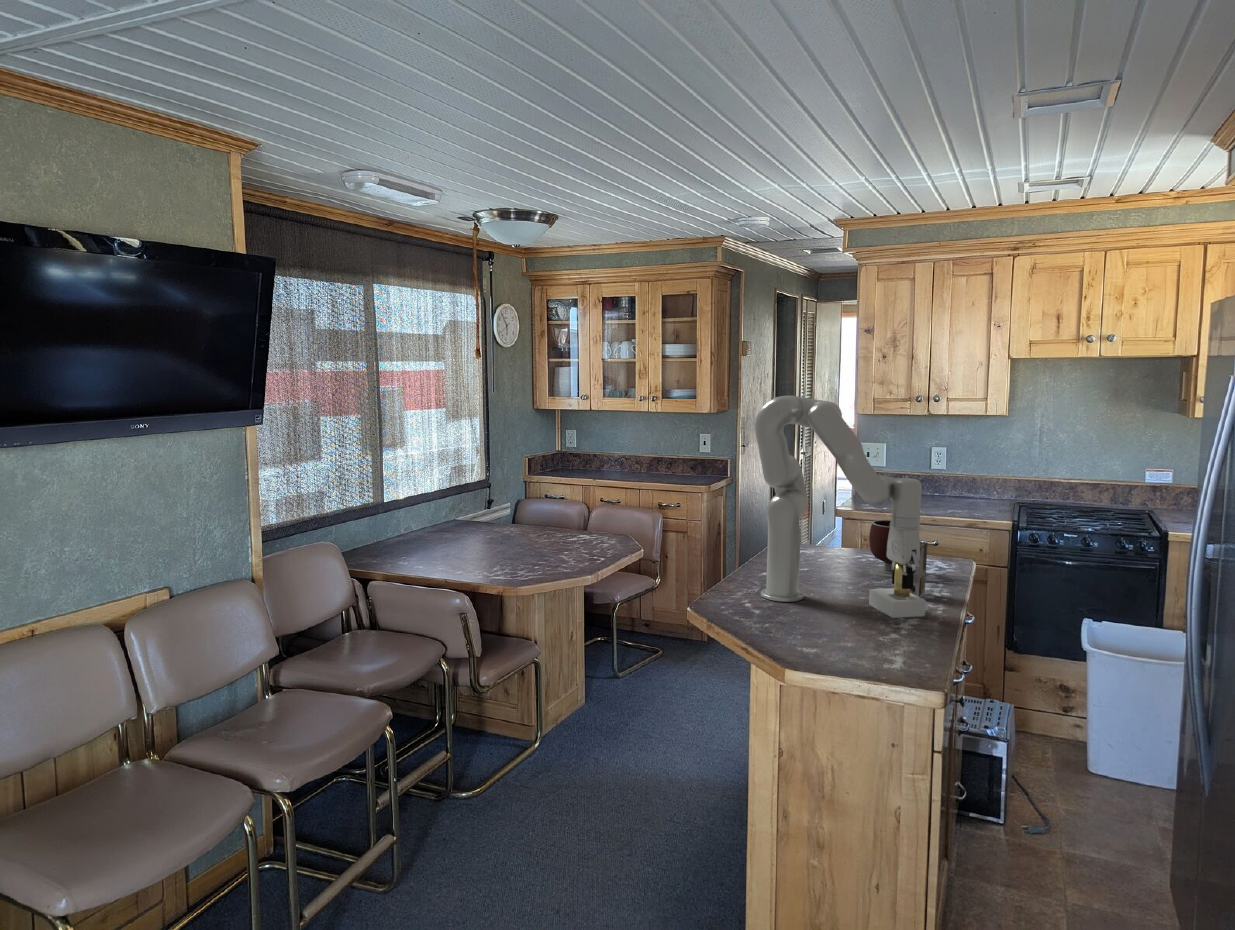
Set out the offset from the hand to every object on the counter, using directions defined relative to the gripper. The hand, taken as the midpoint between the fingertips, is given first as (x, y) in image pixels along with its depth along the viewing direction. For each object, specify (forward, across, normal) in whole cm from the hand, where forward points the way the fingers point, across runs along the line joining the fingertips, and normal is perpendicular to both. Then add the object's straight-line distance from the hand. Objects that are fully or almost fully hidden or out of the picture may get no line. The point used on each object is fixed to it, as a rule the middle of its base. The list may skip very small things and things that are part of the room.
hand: (902, 585), depth 234 cm
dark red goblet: (+8, -41, +20) cm, 46 cm away
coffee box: (+8, -16, +13) cm, 22 cm away
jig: (+8, -2, 0) cm, 8 cm away
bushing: (+3, 0, 0) cm, 3 cm away
